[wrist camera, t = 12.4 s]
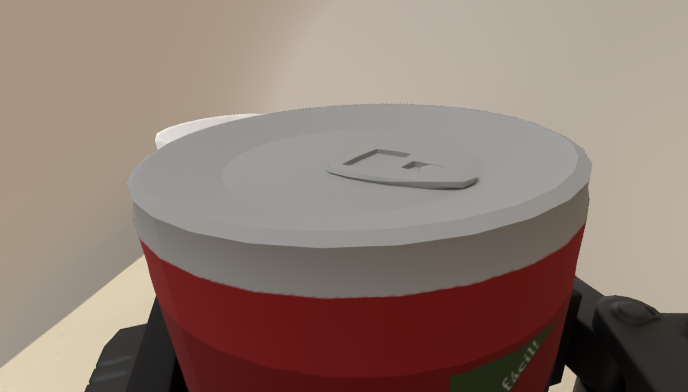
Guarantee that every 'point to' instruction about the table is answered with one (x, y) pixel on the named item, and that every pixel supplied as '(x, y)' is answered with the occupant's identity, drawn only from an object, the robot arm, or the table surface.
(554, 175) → the canned food
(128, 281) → the table surface
